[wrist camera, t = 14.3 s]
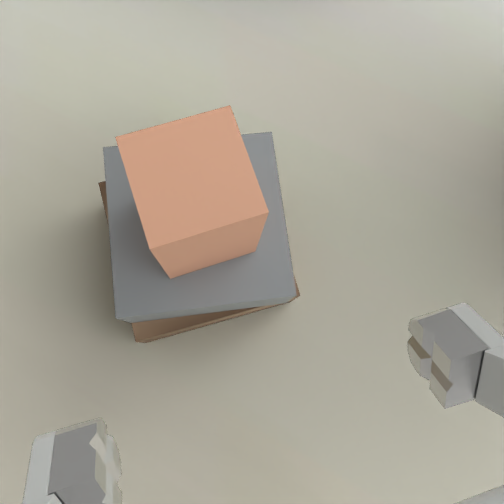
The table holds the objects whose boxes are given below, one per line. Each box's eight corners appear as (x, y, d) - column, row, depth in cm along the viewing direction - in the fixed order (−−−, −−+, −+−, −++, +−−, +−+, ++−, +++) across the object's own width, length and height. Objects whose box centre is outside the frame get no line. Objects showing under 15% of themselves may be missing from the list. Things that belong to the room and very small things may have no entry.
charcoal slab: (119, 175, 31) (103, 147, 26) (264, 161, 32) (271, 131, 27) (131, 323, 29) (115, 318, 25) (285, 303, 30) (296, 295, 25)
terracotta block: (144, 197, 26) (115, 137, 19) (227, 172, 27) (230, 105, 19) (170, 279, 25) (149, 249, 18) (255, 251, 26) (268, 212, 18)
